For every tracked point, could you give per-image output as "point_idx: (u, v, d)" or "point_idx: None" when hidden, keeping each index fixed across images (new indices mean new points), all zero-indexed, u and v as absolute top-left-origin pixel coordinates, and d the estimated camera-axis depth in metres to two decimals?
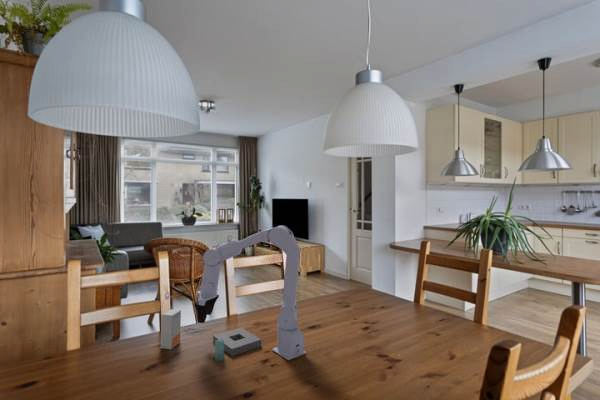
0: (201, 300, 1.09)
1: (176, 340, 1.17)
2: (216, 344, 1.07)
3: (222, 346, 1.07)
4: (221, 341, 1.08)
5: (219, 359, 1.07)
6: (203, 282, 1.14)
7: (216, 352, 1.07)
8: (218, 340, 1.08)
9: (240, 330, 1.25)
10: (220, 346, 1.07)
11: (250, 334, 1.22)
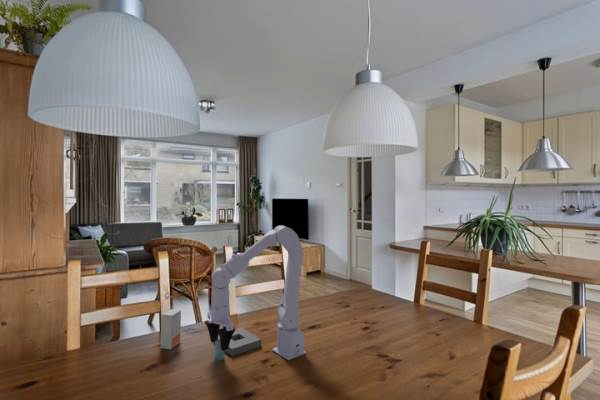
0: (230, 325, 1.02)
1: (176, 340, 1.17)
2: (216, 344, 1.07)
3: None
4: None
5: (219, 359, 1.07)
6: (218, 307, 1.05)
7: (216, 352, 1.07)
8: (218, 341, 1.08)
9: (240, 330, 1.25)
10: (220, 346, 1.07)
11: (250, 334, 1.22)
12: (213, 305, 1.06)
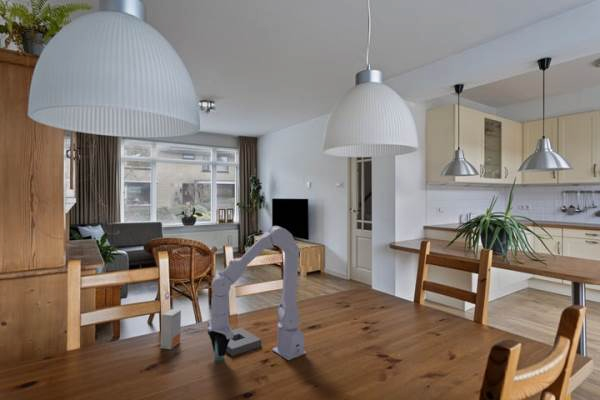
0: (230, 333, 1.02)
1: (176, 340, 1.17)
2: (216, 344, 1.07)
3: None
4: None
5: (219, 359, 1.07)
6: (218, 315, 1.05)
7: (216, 352, 1.07)
8: None
9: (240, 330, 1.25)
10: None
11: (250, 334, 1.22)
12: (213, 313, 1.06)
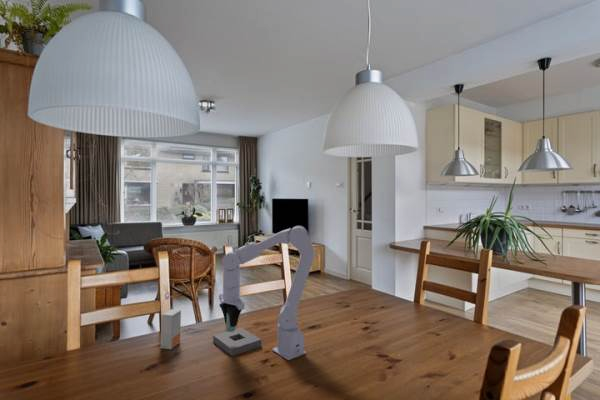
0: (241, 304, 1.09)
1: (176, 340, 1.17)
2: (228, 316, 1.13)
3: None
4: None
5: (231, 330, 1.13)
6: (230, 288, 1.12)
7: (228, 323, 1.13)
8: None
9: (240, 330, 1.25)
10: None
11: (250, 334, 1.22)
12: (224, 286, 1.13)
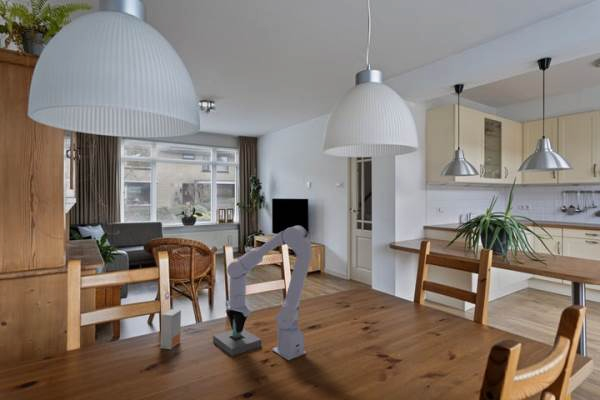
0: (247, 311, 1.13)
1: (176, 340, 1.17)
2: (234, 322, 1.18)
3: None
4: None
5: (237, 335, 1.18)
6: (236, 296, 1.16)
7: (234, 329, 1.18)
8: None
9: None
10: None
11: (250, 334, 1.22)
12: (230, 293, 1.18)
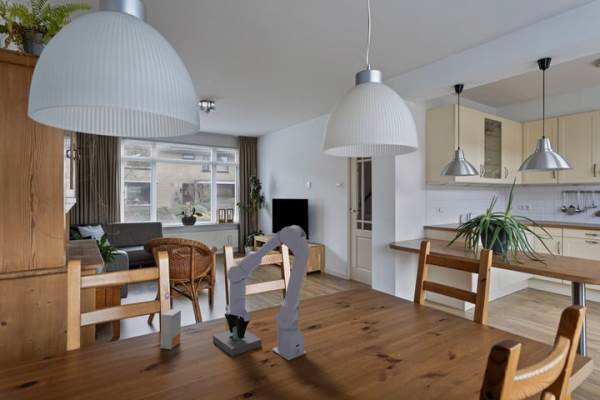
0: (247, 316, 1.13)
1: (176, 340, 1.17)
2: (234, 330, 1.18)
3: None
4: None
5: None
6: (236, 300, 1.16)
7: (234, 338, 1.18)
8: (235, 327, 1.19)
9: None
10: None
11: (250, 334, 1.22)
12: None
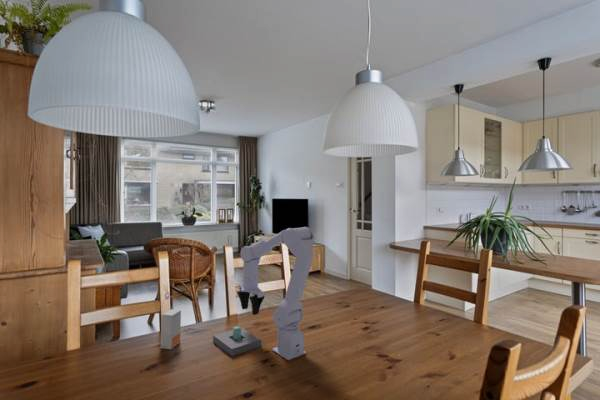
0: (260, 293, 1.21)
1: (176, 340, 1.17)
2: (234, 330, 1.18)
3: (239, 332, 1.18)
4: (238, 328, 1.19)
5: None
6: (249, 278, 1.24)
7: (234, 338, 1.18)
8: (235, 327, 1.19)
9: None
10: (238, 332, 1.18)
11: (250, 334, 1.22)
12: None
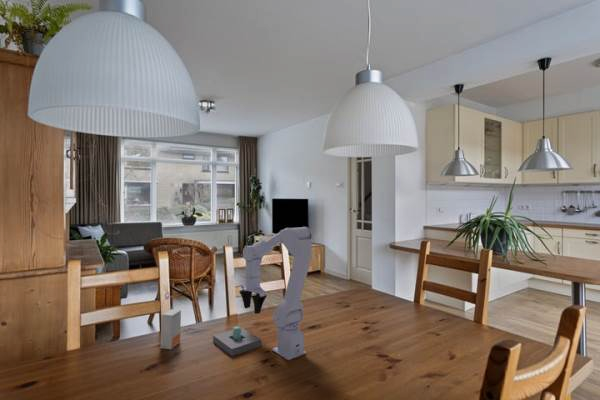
0: (262, 292, 1.22)
1: (176, 340, 1.17)
2: (234, 330, 1.18)
3: (239, 332, 1.18)
4: (238, 328, 1.19)
5: None
6: (252, 278, 1.25)
7: (234, 338, 1.18)
8: (235, 327, 1.19)
9: None
10: (238, 332, 1.18)
11: (250, 334, 1.22)
12: None
